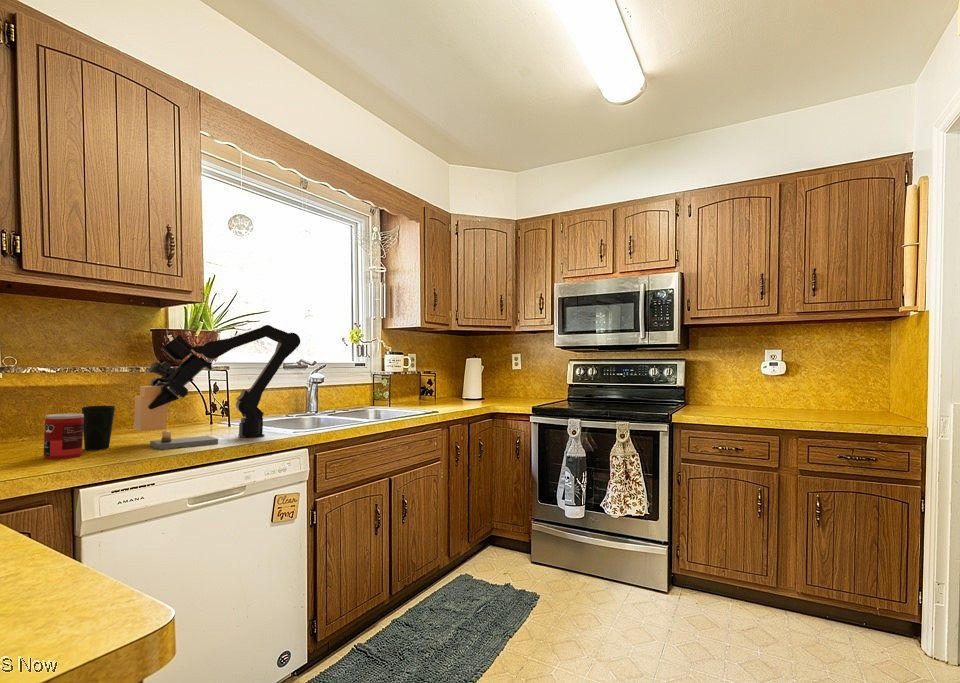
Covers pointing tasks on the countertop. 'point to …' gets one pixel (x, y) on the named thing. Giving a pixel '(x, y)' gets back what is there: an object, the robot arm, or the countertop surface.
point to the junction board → (181, 441)
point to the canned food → (63, 435)
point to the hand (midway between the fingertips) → (145, 407)
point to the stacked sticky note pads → (149, 410)
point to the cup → (97, 426)
